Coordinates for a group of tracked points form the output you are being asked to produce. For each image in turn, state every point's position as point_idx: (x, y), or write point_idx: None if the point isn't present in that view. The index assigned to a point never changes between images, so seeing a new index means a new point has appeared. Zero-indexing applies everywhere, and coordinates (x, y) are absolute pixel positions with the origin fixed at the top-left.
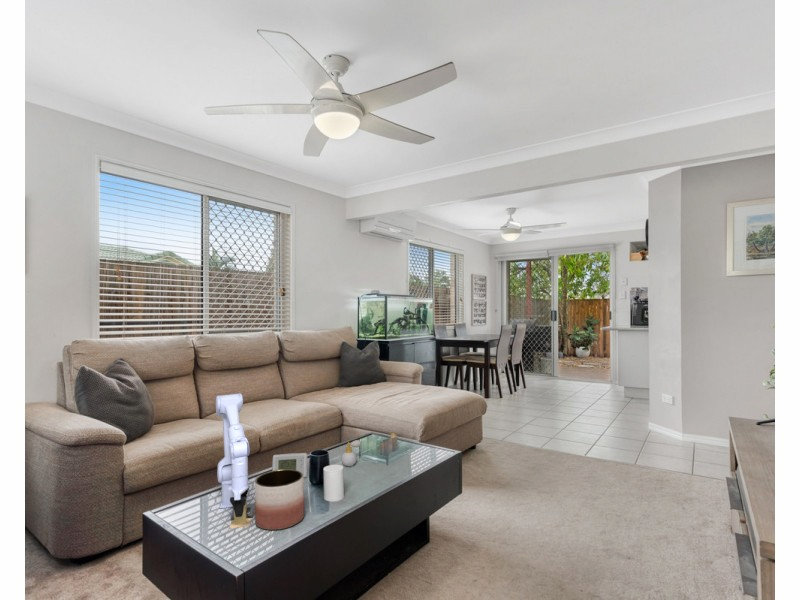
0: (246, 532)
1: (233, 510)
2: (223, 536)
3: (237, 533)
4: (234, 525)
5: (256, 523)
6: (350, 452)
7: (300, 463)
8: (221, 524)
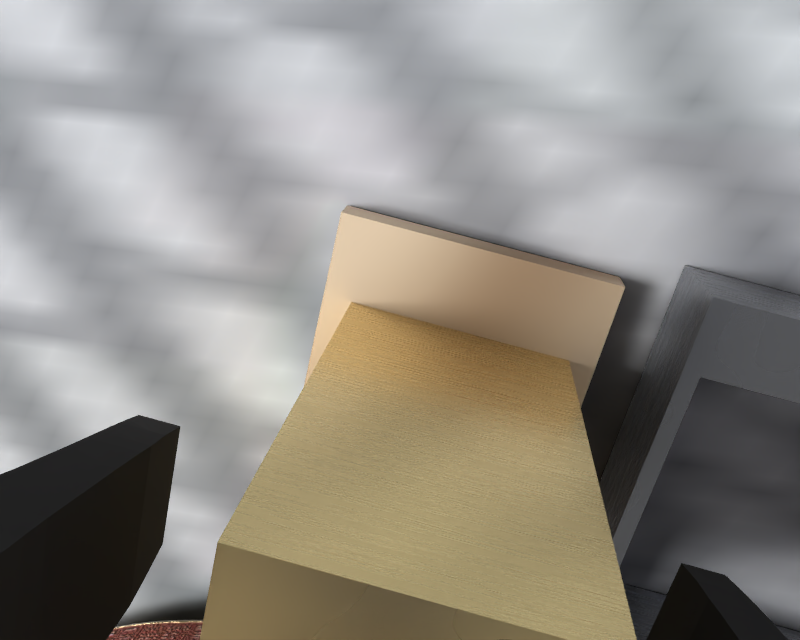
0: (75, 436)
1: None
2: (71, 62)
3: (94, 307)
4: (349, 306)
5: (157, 633)
6: None
7: None
8: (640, 68)
